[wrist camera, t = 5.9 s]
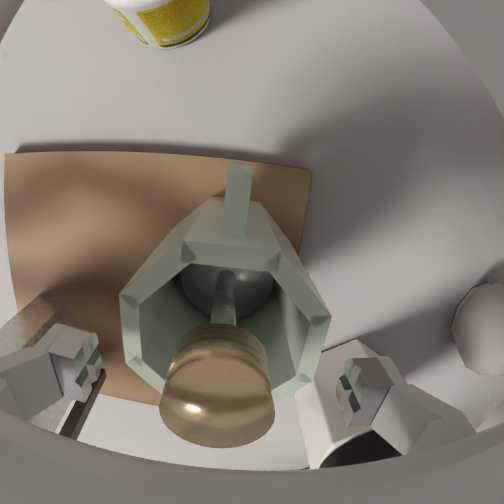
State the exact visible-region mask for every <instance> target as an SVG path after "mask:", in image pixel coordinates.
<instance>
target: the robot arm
mask: <svg viewBox="0 0 504 504" xmlns="http://www.w3.org/2000/svg"><path fill="white" fill-rule="evenodd" d="M98 344H99V342H98V337H97V334H96V333H95V332H92V331H87V330H83V329H79V328H75V327H72V326H67V325H63V324H59V323H57V324H54V325H53V326H52V327H51V328H50V329H49V331H48V332H47V333H46V334H45V335H44V336H43V337H42V338H41V339H40V341H39V342H38V343H37V344H36V345H35V346H34V347H33V348H32V347H27V348H24V349H22V350H19V351H16V352H13V353H10V354H8V355H5V356H2V357H0V504H504V422H502V423H500V424H498V425H496V426H493V427H491V428H489V429H486V430H483V431H481V432H479V433H476V431H475V430H474V428H473V427H472V425H471V424H470V422H469V421H468V420H467V418H466V417H465V415H464V414H463V413H462V412H461V411H459V410H458V409H456V408H454V407H452V406H450V405H448V404H447V403H445V402H443V401H441V400H439V399H437V398H436V397H434V396H432V395H430V394H428V393H427V392H425V391H423V390H421V389H419V388H418V387H416V386H414V385H412V384H407V382H406V381H405V379H404V378H403V376H402V375H401V373H400V372H399V370H398V369H397V367H396V366H395V364H394V363H393V361H392V360H391V358H389V357H388V356H382V357H372V358H348V359H347V360H346V361H345V363H344V366H343V369H344V371H345V373H344V374H343V375H342V376H341V377H339V380H338V383H337V386H336V397H337V401H338V403H339V404H340V405H341V406H342V407H344V410H343V412H342V414H343V417H344V420H345V422H346V425H347V427H355V426H368V425H370V427H371V428H372V429H373V430H375V431H376V432H377V433H378V434H379V435H380V436H381V437H383V438H384V439H385V440H386V441H387V442H388V443H389V444H391V445H392V446H393V447H394V448H395V449H396V450H398V451H399V452H400V453H401V454H402V455H403V456H399V457H394V458H389V459H384V460H379V461H374V462H368V463H362V464H355V465H348V466H340V467H330V468H320V469H306V470H284V471H250V470H228V469H214V468H204V467H195V466H186V465H179V464H172V463H166V462H160V461H155V460H149V459H144V458H140V457H135V456H130V455H126V454H122V453H118V452H114V451H110V450H106V449H103V448H99V447H96V446H92V445H89V444H86V443H83V442H80V441H76V440H73V439H71V438H68V437H65V436H62V435H59V434H57V433H54V432H51V431H49V430H46V429H44V428H41V427H39V426H36V425H34V424H32V423H29V422H27V421H28V420H29V419H31V418H33V417H34V416H36V415H37V414H39V413H40V412H42V411H43V410H45V409H47V408H48V407H50V406H51V405H53V404H54V403H56V402H57V401H59V400H60V399H62V398H63V397H67V398H70V399H74V400H77V401H81V402H86V400H87V398H88V396H89V395H90V393H91V391H92V386H91V383H93V382H95V381H97V379H98V377H99V375H100V372H101V367H102V360H101V354H100V353H99V352H98V350H97V349H96V347H97V345H98Z"/></svg>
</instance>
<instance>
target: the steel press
mask: <svg viewBox="0 0 504 504" xmlns="http://www.w3.org/2000/svg"><path fill="white" fill-rule="evenodd" d="M57 323H59V324H63V325H67V326H72V327H75V328H79V329H83V330H87V331H91V328H90V327H89V326H88V325H87V324H86V323H85V322H84V321H83V320H82V319H81V318H80V317H79V316H78V315H77V313H76V312H75V311H74V310H73V309H72V308H71V307H70V306H69V305H68V303H67V302H65V301H60V300H56V299H51V298H47V297H42V296H37V297H36V298H34V299H33V300H32V301H31V302H30V303H29V304H27V305H26V306H25V307H24V308H23V309H22V310H21V311H19V312H18V313H17V314H16V315H15V316H14V317H13V318H12V319H11V320H9V321H8V322H7V323H6V324H5V325H4V326H3V327H2V328H1V329H0V357H2V356H5V355H8V354H10V353H13V352H16V351H19V350H22V349H24V348H27V347H32V348H33V347H34V346H35V345H36V344H37V343H38V342H39V341H40V339H41V338H42V337H43V336H44V335H45V334H46V333H47V332H48V331H49V329H50V328H51V327H52V326H53V325H54V324H57ZM106 377H107V376H106V371H105V369H103V368H101V372H100V375H99V377H98V379H97V381H95V382H93V383H91V386H92V391H91V393H90V395H89V396H88V398H87V400H86V402H81V401H76V402H75V404H74V406H73V408H72V410H71V412H70V414H69V416H68V418H67V419H66V421H65V423H64V425H63V427H62V429H61V431H60V433H59V435H62V436H65V437H68V438H71V439H73V440H77V438H78V436H79V434H80V431H81V429H82V427H83V425H84V423H85V421H86V418H87V416H88V414H89V412H90V410H91V408H92V406H93V404H94V402H95V400H96V398H97V396H98V394H99V391H100V389H101V387H102V385H103V383H104V381H105V379H106ZM71 401H72V399H70V398H67V397H63V398H62V399H60V400H59V401H57V402H56V403H54V404H53V405H51V406H50V407H48V408H47V409H45V410H43V411H42V412H40V413H39V414H37V415H36V416H34V417H33V418H31V419H29V420H28V421H27V422H29V423H32V424H34V425H36V426H39V427H41V428H44V429H46V430H49V431H51V432H55V430H56V428H57V427H58V425H59V423H60V421H61V419H62V417H63V415H64V413H65V412H66V410H67V408H68V406H69V404H70V402H71Z"/></svg>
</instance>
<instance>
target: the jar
mask: <svg viewBox="0 0 504 504" xmlns="http://www.w3.org/2000/svg"><path fill="white" fill-rule="evenodd" d="M372 357H381V356H380V355H378V354H377V353H376V352H374V351H373V350H371V349H370V348H369V347H367V346H366V345H365V344H363V343H362V342H360V341H359V340H358V339H354V340H352V341H350V342H347V343H345V344H342V345H340V346H337V347H335V348H332V349H330V350H327V351H325V352H322V353H321V355H320V358H319V362H318V365H317V368H316V371H315V374H314V377H313V380H312V382H311V383H309V384H307V385H306V386H304V387H302V388H301V389H299V390H297V391H296V392H295V395H294V398H295V402H296V407H297V411H298V416H299V420H300V425H301V430H302V434H303V439H304V443H305V448H306V453H307V457H308V462H309V467H310V469H320V468H330V467H340V466H348V465H355V464H362V463H368V462H374V461H379V460H384V459H389V458H394V457H399V456H403V455H402V454H401V453H400V452H399V451H398V450H396V449H395V448H394V447H393V446H392V445H391V444H389V443H388V442H387V441H386V440H385V439H384V438H383V437H381V436H380V435H379V434H378V433H377V432H376V431H375V430H373V429H372V428H371V427H370V425H368V426H355V427H347V425H346V422H345V420H344V417H343V414H342V412H343V410H344V407H342V406H341V405H340V404H339V403H338V401H337V397H336V386H337V383H338V380H339V377H341V376H342V375H343V374H344V373H345V371H344V369H343V366H344V363H345V361H346V360H347V359H348V358H372Z"/></svg>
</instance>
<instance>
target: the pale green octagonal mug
mask: <svg viewBox="0 0 504 504" xmlns="http://www.w3.org/2000/svg"><path fill="white" fill-rule="evenodd" d="M253 169H254V168H253V167H252V166H250V165H249V164H248V163H240V162H232V163H231V164H229V166H228V174H227V182H226V191H225V198H224V197H214V196H211V197H210V198H209V199H207V200H206V201H205V202H204V203H202V204H201V205H200V206H199V207H197V208H196V209H195V210H194V211H193V212H191V213H190V214H189V215H188V216H187V217H185V218H184V219H183V220H182V221H181V222H179V223H178V224H177V225H176V226H175V227H174V228H173V229H172V230H171V231H170V233H169V234H168V235H167V236H166V237H165V238H164V240H163V241H162V242H161V243H160V244H159V245H158V247H157V248H156V249H155V250H154V251H153V253H152V254H151V255H150V256H149V257H148V259H147V260H146V261H145V262H144V264H143V265H142V266H141V267H140V268H139V270H138V271H137V272H136V273H135V275H134V276H133V277H132V278H131V280H130V281H129V282H128V283H127V285H126V286H125V287H124V288H123V290H122V291H121V292H120V294H119V301H120V315H121V327H122V337H123V346H124V355H125V363H126V364H127V365H128V366H129V367H130V368H131V369H133V370H134V371H135V372H136V373H137V374H138V375H139V376H140V377H142V378H143V379H144V380H145V381H146V382H147V383H149V384H150V385H151V386H152V387H153V388H155V389H156V390H157V391H158V392H159V393H161V394H162V392H163V389H164V385H165V382H166V378H167V374H168V371H169V367H170V364H171V360H172V357H173V353H174V350H175V347H176V345H177V343H178V341H179V340H180V338H181V337H182V336H183V335H184V334H185V333H187V332H188V331H190V330H191V329H193V328H195V327H198V326H201V325H204V324H210V321H211V316H210V315H208V314H206V313H204V312H202V311H201V310H199V309H198V308H197V307H196V306H194V305H193V304H192V302H191V301H190V300H189V298H188V297H187V295H186V293H185V291H184V289H183V285H182V280H181V272H182V269H184V268H185V267H186V266H188V265H189V264H190V263H193V264H202V265H211V266H220V267H229V268H238V269H248V270H257V271H267V272H269V273H270V274H271V275H272V276H273V284H272V288H271V291H270V293H269V295H268V297H267V299H266V300H265V301H264V303H263V304H262V305H261V306H260V307H259V308H257V309H256V310H255V311H253V312H252V313H250V314H248V315H245V316H242V317H239V318H236V326H238V327H241V328H243V329H245V330H247V331H249V332H250V333H252V334H253V335H254V336H255V337H257V338H258V339H259V341H260V342H261V343H262V345H263V346H264V348H265V351H266V354H267V360H268V367H269V374H270V381H271V388H272V396H273V403H276V402H277V401H279V400H281V399H283V398H285V397H286V396H288V395H290V394H292V393H294V392H295V391H297V390H299V389H301V388H302V387H304V386H306V385H307V384H309V383H311V382H312V380H313V377H314V374H315V371H316V368H317V365H318V362H319V358H320V355H321V352H322V349H323V345H324V342H325V338H326V335H327V331H328V328H329V324H330V321H331V317H332V316H331V314H330V312H329V310H328V309H327V307H326V305H325V303H324V301H323V300H322V298H321V296H320V294H319V292H318V291H317V289H316V287H315V285H314V283H313V282H312V280H311V278H310V276H309V274H308V273H307V271H306V269H305V267H304V266H303V264H302V262H301V260H300V259H299V257H298V255H297V253H296V252H295V250H294V248H293V246H292V245H291V243H290V241H289V239H288V238H287V237H286V235H285V234H284V233H283V231H282V230H281V229H280V228H279V226H278V225H277V224H276V222H275V221H274V220H273V218H272V217H271V216H270V215H269V213H268V212H267V211H266V209H265V208H264V207H263V205H262V204H261V203H260V202H258V201H250V192H251V184H252V177H253Z"/></svg>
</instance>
